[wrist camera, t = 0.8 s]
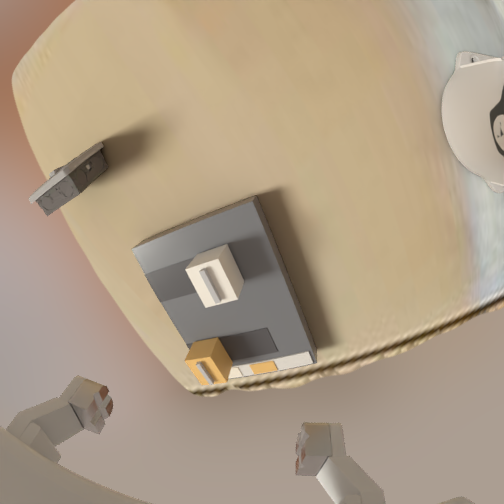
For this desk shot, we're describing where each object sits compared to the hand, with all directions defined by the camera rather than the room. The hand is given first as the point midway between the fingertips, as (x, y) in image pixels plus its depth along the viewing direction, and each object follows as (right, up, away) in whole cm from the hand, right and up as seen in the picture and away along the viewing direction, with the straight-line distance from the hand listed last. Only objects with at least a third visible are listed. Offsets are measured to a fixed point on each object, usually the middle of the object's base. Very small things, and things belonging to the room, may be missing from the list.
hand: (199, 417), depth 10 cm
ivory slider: (-2, +5, +24) cm, 25 cm away
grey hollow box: (-21, +18, +25) cm, 37 cm away
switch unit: (-1, 0, +29) cm, 29 cm away
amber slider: (-3, -8, +30) cm, 31 cm away
